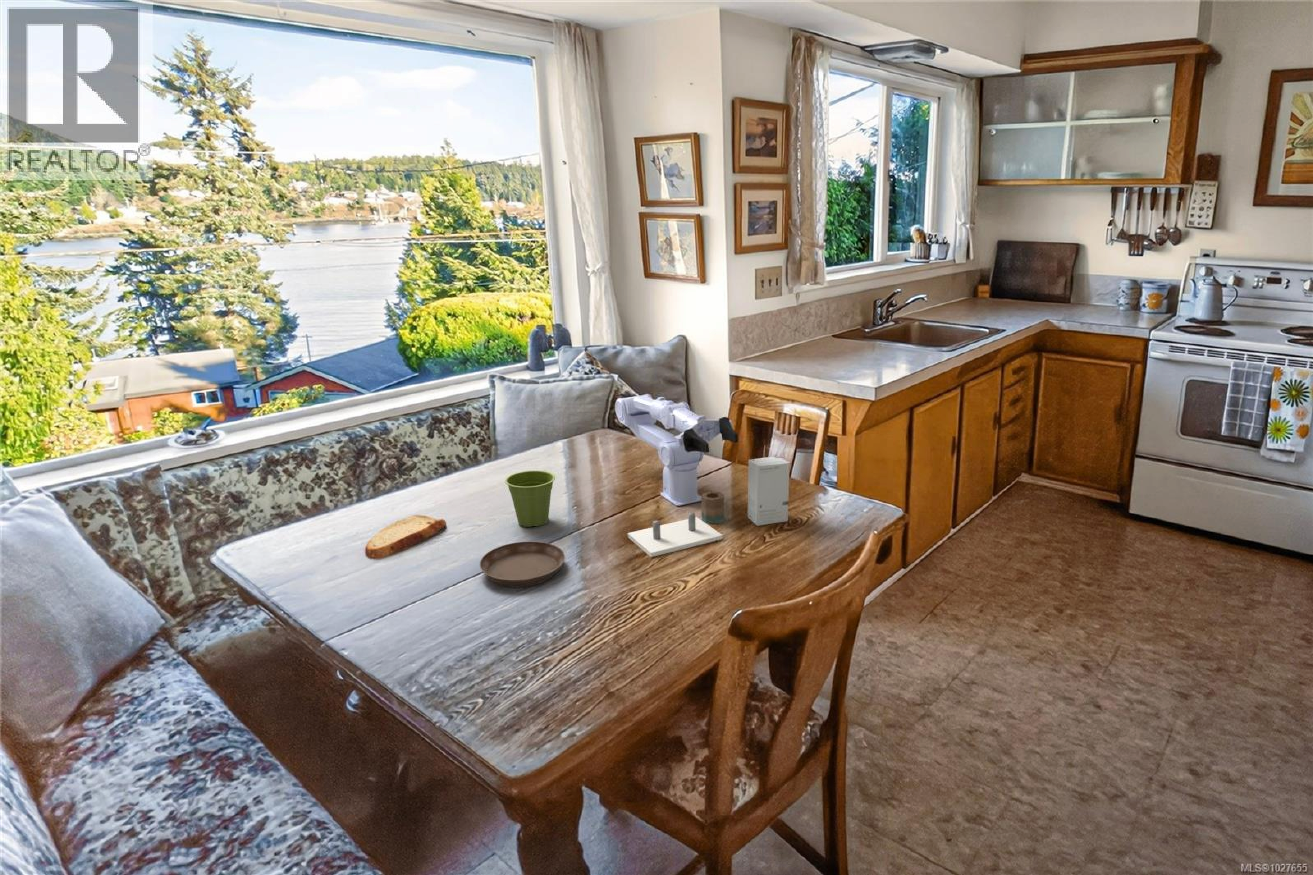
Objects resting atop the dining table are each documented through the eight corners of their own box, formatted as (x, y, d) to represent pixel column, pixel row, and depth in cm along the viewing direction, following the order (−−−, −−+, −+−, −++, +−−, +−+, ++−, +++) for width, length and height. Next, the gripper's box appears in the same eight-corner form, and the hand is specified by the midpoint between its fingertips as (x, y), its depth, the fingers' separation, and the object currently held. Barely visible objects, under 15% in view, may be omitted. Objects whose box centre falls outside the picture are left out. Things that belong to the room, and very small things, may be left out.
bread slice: (363, 562, 172) (361, 547, 170) (370, 530, 188) (367, 516, 187) (447, 550, 176) (445, 535, 175) (446, 520, 193) (444, 506, 191)
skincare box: (757, 526, 181) (757, 466, 177) (746, 517, 187) (746, 458, 182) (789, 521, 184) (790, 462, 179) (778, 512, 189) (779, 454, 185)
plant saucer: (583, 568, 165) (582, 555, 164) (516, 601, 152) (515, 587, 151) (529, 546, 176) (528, 534, 175) (463, 575, 164) (462, 562, 163)
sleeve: (698, 517, 188) (698, 494, 186) (716, 513, 190) (716, 490, 188) (709, 524, 183) (708, 501, 182) (727, 520, 186) (727, 496, 184)
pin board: (627, 537, 178) (626, 516, 177) (696, 520, 186) (696, 501, 184) (650, 557, 168) (650, 535, 167) (722, 539, 176) (722, 518, 174)
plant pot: (549, 533, 182) (545, 488, 179) (501, 530, 185) (497, 486, 181) (564, 513, 193) (561, 470, 190) (519, 511, 196) (515, 469, 192)
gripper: (664, 419, 184) (692, 436, 172) (717, 402, 189) (747, 418, 178) (668, 446, 187) (696, 465, 175) (720, 428, 192) (750, 446, 181)
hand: (722, 443), depth 177 cm, fingers open, 7 cm apart
